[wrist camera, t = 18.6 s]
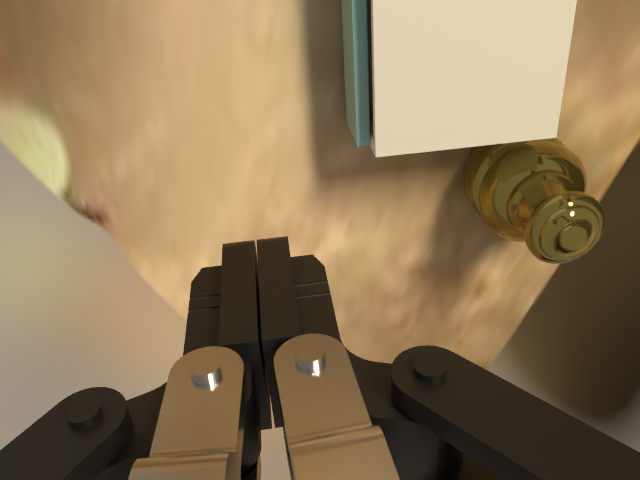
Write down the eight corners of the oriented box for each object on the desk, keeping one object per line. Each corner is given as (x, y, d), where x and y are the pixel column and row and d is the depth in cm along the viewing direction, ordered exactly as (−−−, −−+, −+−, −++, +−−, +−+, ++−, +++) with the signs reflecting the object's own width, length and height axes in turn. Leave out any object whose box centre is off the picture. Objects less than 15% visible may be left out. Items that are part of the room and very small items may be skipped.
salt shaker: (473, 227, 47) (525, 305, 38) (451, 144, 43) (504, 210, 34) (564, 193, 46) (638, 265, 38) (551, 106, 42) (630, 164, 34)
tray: (336, -110, 33) (348, -108, 30) (527, -125, 34) (561, -125, 30) (346, 122, 40) (357, 146, 37) (504, 106, 41) (529, 128, 38)
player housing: (350, -115, 34) (370, -113, 29) (543, -131, 34) (596, -131, 29) (358, 122, 41) (375, 157, 36) (517, 105, 42) (556, 137, 37)
